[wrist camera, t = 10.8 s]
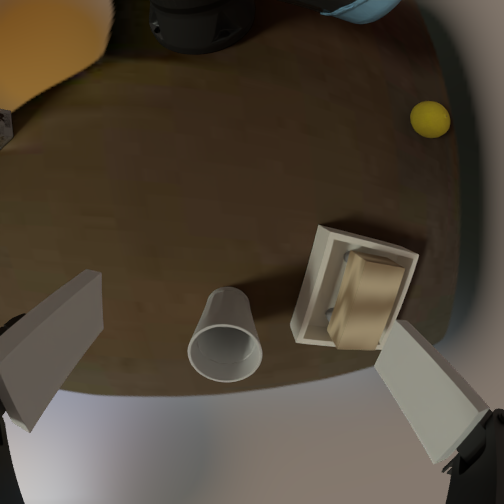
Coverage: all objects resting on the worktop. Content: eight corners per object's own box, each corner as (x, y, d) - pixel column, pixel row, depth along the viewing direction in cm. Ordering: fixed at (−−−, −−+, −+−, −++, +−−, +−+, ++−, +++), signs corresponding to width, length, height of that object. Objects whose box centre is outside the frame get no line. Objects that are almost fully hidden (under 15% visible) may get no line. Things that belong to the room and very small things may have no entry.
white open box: (318, 224, 37) (329, 231, 32) (401, 246, 38) (419, 254, 33) (289, 324, 41) (295, 342, 36) (369, 333, 42) (382, 349, 37)
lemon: (395, 121, 33) (426, 112, 25) (410, 99, 32) (441, 89, 24) (418, 147, 34) (450, 144, 26) (432, 125, 33) (464, 119, 26)
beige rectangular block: (361, 332, 38) (375, 350, 33) (326, 329, 37) (337, 349, 33) (386, 257, 35) (405, 268, 30) (350, 250, 34) (366, 261, 30)
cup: (260, 285, 39) (269, 329, 27) (250, 333, 41) (254, 385, 29) (204, 277, 38) (190, 318, 26) (198, 325, 40) (185, 376, 28)
